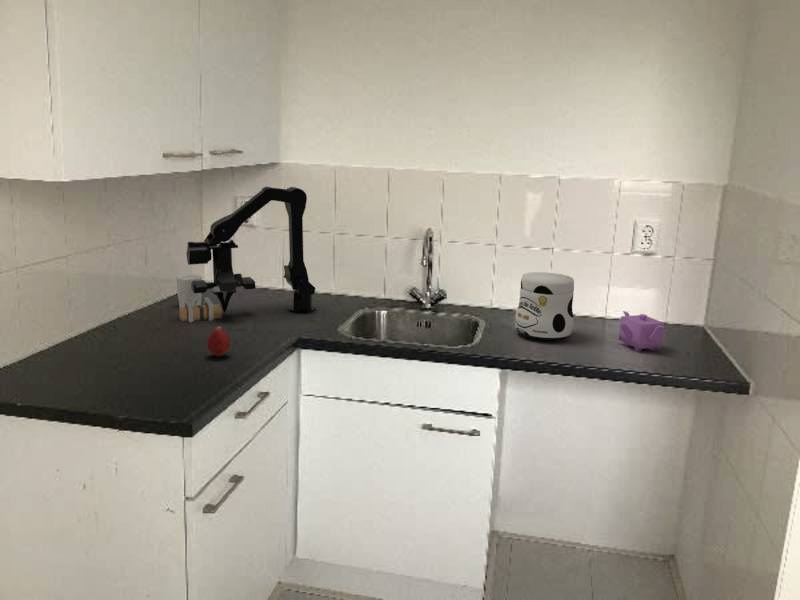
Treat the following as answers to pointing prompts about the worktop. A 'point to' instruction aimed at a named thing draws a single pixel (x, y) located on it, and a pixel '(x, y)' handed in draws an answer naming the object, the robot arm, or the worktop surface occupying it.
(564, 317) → the milk container
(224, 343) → the onion
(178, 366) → the worktop surface
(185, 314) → the taped cardboard box
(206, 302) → the gray bracket rail
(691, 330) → the worktop surface
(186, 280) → the white cup
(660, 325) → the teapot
